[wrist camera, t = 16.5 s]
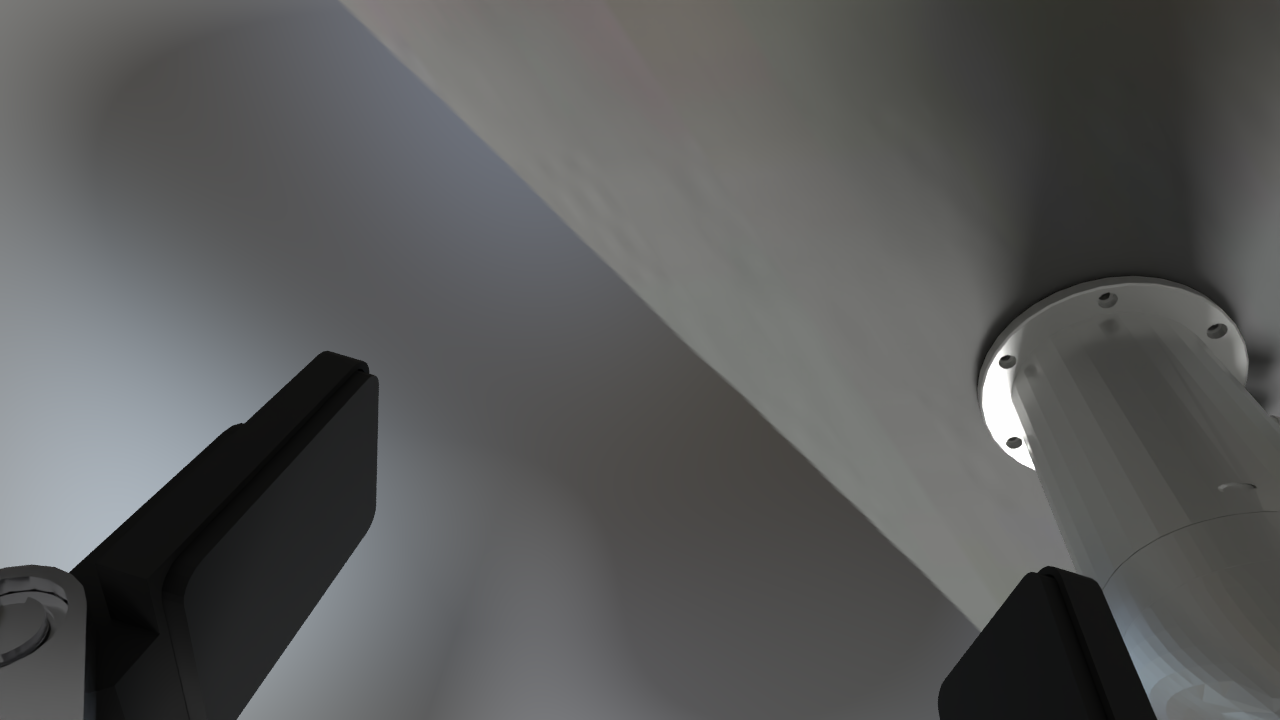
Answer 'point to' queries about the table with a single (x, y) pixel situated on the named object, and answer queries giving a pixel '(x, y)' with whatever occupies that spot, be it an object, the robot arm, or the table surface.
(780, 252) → the table surface
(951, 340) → the table surface
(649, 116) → the table surface
